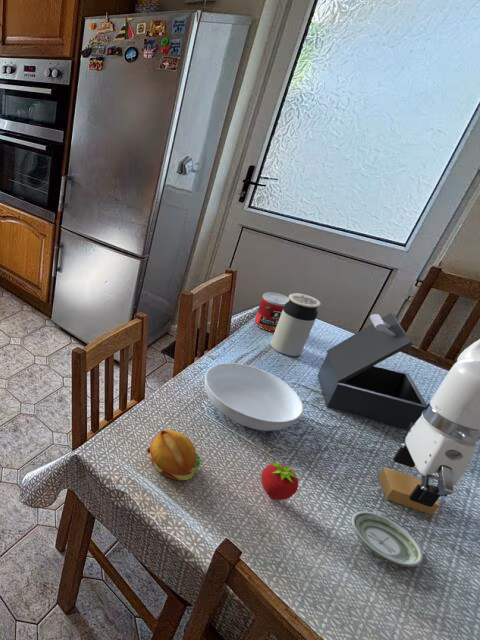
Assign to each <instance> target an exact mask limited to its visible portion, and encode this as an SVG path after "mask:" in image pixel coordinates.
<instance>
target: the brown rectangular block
mask: <svg viewBox="0 0 480 640" xmlns="http://www.w3.org/2000/svg"><path fill="white" fill-rule="evenodd" d="M377 478H378V481H379V483H380V486H381V488H382V491H383V494H384V497H385V499H386V500H387V501H388V500H389V501H391V502H393V503H397V504H399V505H401V506H405V507H408V508H411V509H413V510H417V511H419V512H423V513H425V514H428V515H431V516H433V515H434V514H435V513H436V512H437V510H438V509H439V507H440V503H439V501H438V500H437V501H436V502H435V504H434V505H433V506H432V507H428V506H426V505H423V504H420V503H417V502H414V501H411V500H410V498H409V496H410V494H411V493H412V492H413V490H414V489H415V487H416V486H417V485H418V484H419V485H421V481H422V478H419V477H417V476H413V475H411V474H408V473H405V472H401V471H399V470H395V469H392V468H389V467H386V466H383V467H382V468H381V470H380V472H379V473H378V474H377ZM429 485H431V484H430V483H429Z"/></svg>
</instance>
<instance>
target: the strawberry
mask: <svg viewBox="0 0 480 640" xmlns="http://www.w3.org/2000/svg"><path fill="white" fill-rule="evenodd" d="M268 461H269V464H268V465H266V466H265V467H264V468H263V469H262V471H261V475H260V477H261V478H260V481H261V486H262V488H263V490H264V492H265V493H266V496H268V497H269V498H270V500H273V501H284V500H288V499H290V498H292V497H293V496H294V495H295V494H296V493H297V492H298V489H299V477H298V476H297V474H296V473H295V472H294V471H293V470H292V469H291V468H292V467H293V466H292V465H286V464H285V462H284V461H283V460H282V461H281V462H282V463H279V461H278V460H276V461H275V462H274V461H272V460H271V459H268Z"/></svg>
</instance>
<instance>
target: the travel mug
mask: <svg viewBox="0 0 480 640" xmlns="http://www.w3.org/2000/svg"><path fill="white" fill-rule="evenodd" d="M288 298H289V301H288V302H287V303H285V305H284V308H283V311H282V313H281V316H280V319H279V321H278V324H277V327H276V329H275V332H273V335H272V337H271V340H270V344H269V345H270V346H271V347H272V349H273V350H275V351H277V352H278V353H281V354H283V355H287V356H290V357H297V356H300V355H302V353H303V350H304V348H305V346H306V344H307V341H308V339H309V336H310V334H311V331H312V329H313V327H314V324H315V323H316V320H317V317H318V314H319V312H318V308H319V307H321V302H320V301H319V300H318V299H317V298H315V297H314V296H311V295H308V294H304V293H297V292H295V293H290V294H289V295H288Z"/></svg>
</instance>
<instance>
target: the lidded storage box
mask: <svg viewBox="0 0 480 640" xmlns="http://www.w3.org/2000/svg"><path fill="white" fill-rule="evenodd" d="M317 379H318V383H319V386H320V389H321V393H322V396H323V399H324V403H325V406H326V408H328V409H331V410H335V411H339V412H342V413H345V414H348V415H352V416H355V417H358V418H363V419H366V420H370V421H372V422H376V423H381V424H384V425H386V426H390V427H393V428H397V429H400V430H404V431H406V432H409V431H408V428H409V424H410V423H414V424H415V423H416V421H417V420H418V419H419V418H420V417H421V415H422V413H423V411H424V410H425V408H426V407H427V405H428V404H427V402H426V400H425V399H424V397H423V396H422V394H421V392H420V390H419V389H418V387H417V385H416V383H415V382H414V379H413V378H412V376H411V375H410V373H409V372H406V371H402V370H398V369H395V368H389V367H385V366H382V365H378V364H376V365H374V366H372V367H370V368H368V369H366V370H364V371H363V372H361V373H359V374H357V375H355V376H353V377H351V378H350V379H348V380H346V381H344V382H342V383H338V382H337V380H336V377H335V374H334V371H333V368H332V365H331V362H330V359H329V356H328V354H327V353H326V355H325V357H324V360H323V363H322V364H321V366H320V368H319V371H318V373H317Z"/></svg>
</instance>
